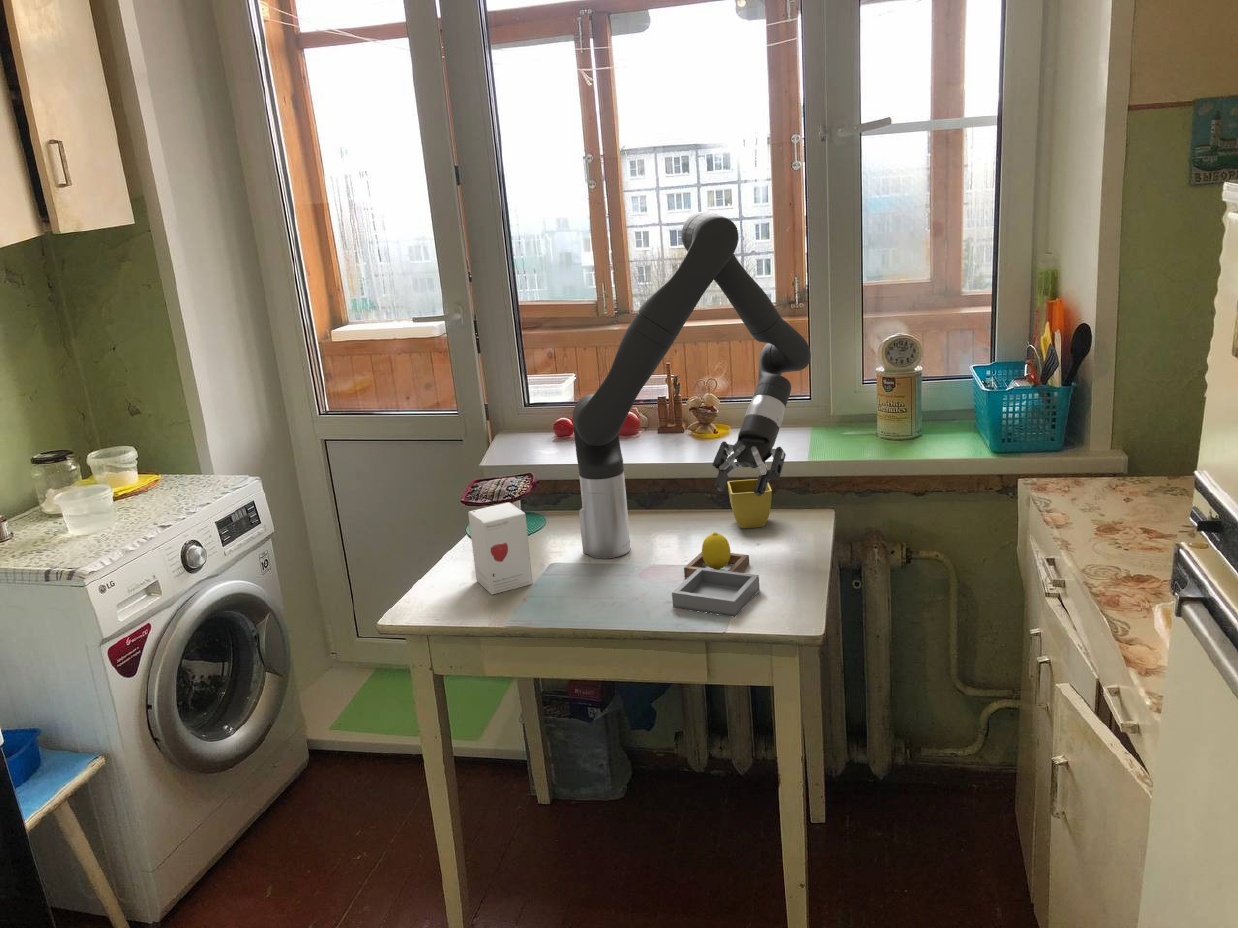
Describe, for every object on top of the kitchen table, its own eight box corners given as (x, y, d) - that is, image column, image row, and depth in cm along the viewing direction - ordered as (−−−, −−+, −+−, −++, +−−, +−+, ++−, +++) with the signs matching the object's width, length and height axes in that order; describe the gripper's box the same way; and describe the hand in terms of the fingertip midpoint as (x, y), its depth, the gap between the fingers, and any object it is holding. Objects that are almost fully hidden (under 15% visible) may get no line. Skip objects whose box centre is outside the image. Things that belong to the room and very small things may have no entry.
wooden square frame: (684, 577, 186) (683, 567, 186) (704, 559, 194) (703, 549, 193) (730, 583, 181) (730, 573, 181) (749, 564, 189) (748, 554, 189)
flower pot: (773, 530, 206) (772, 490, 204) (733, 533, 207) (731, 493, 204) (768, 516, 215) (766, 478, 212) (729, 519, 215) (726, 481, 213)
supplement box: (491, 596, 185) (481, 523, 181) (475, 581, 193) (466, 510, 189) (534, 584, 189) (526, 512, 185) (517, 570, 197) (509, 500, 193)
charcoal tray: (673, 607, 173) (671, 592, 172) (700, 582, 183) (699, 567, 182) (735, 617, 168) (734, 601, 167) (759, 590, 178) (758, 575, 177)
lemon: (730, 576, 185) (728, 537, 182) (701, 576, 186) (698, 537, 184) (732, 565, 190) (730, 527, 188) (704, 565, 191) (702, 527, 189)
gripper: (724, 410, 198) (699, 479, 193) (787, 415, 190) (763, 487, 185) (738, 429, 204) (714, 496, 198) (800, 434, 196) (776, 504, 190)
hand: (737, 492), depth 192 cm, fingers open, 8 cm apart
